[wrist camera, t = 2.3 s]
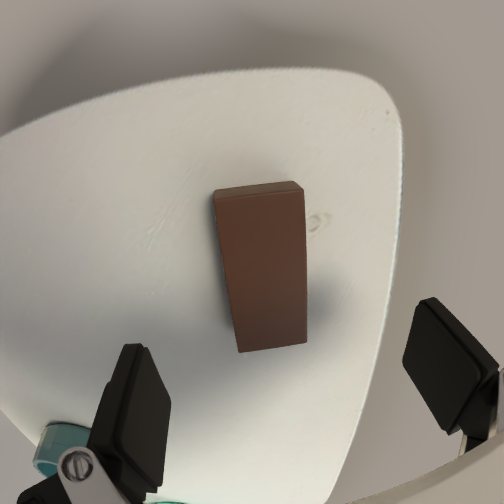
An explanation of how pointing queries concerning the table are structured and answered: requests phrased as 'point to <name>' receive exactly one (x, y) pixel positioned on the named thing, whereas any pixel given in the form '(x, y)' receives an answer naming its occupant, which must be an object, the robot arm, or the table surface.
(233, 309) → the small chocolate
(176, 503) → the decorative dice
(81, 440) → the bowl
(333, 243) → the table surface
